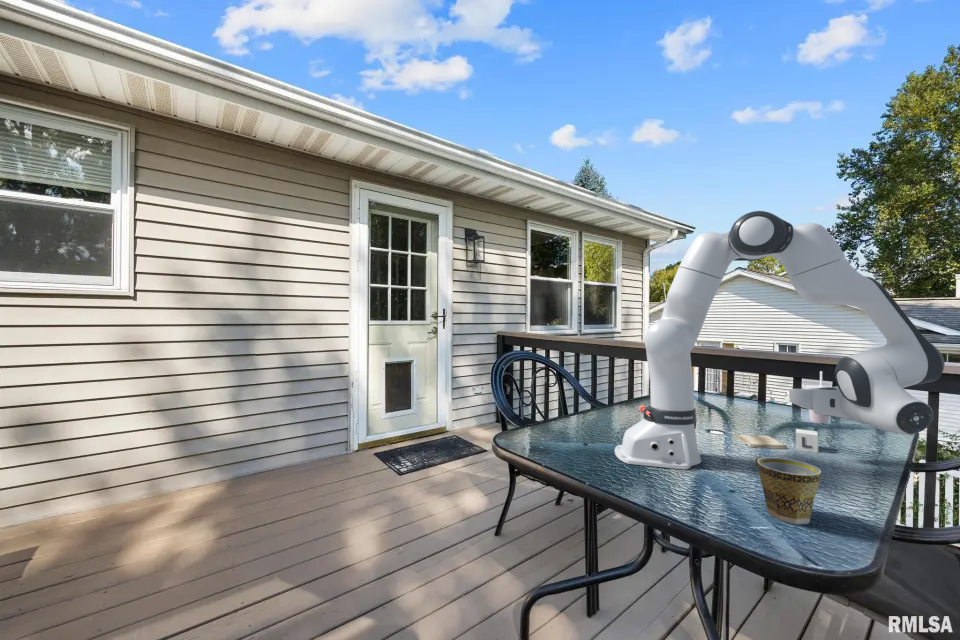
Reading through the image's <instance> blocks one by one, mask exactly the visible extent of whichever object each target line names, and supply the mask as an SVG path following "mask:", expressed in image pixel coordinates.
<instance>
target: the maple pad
mask: <svg viewBox="0 0 960 640" xmlns="http://www.w3.org/2000/svg"><path fill="white" fill-rule="evenodd" d="M734 437H735V438H737V439H739V440H740V441H742V442H743V443H742V442H741V443H742V444H744V443H745V444H747V445H748V446H747V445H746V446H747V447H749V446H750V447H763V448H762V449H780V450H781V449H783V450H785V449H787V448H788V445H787V444H785V443H783V442H781V441H779V440H776V439H775V438H773V437H771V436H769V435H758V434H757V435H755V434H754V435H753V434H751V435H750V434H734V435H733V438H734ZM735 438H734V439H735ZM737 439H736V440H737ZM739 440H738V441H739ZM740 441H739V442H740ZM745 444H744V445H745ZM750 447H749V448H750Z"/></svg>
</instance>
